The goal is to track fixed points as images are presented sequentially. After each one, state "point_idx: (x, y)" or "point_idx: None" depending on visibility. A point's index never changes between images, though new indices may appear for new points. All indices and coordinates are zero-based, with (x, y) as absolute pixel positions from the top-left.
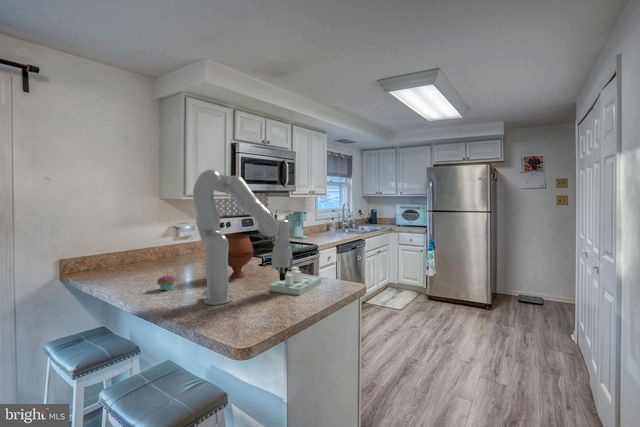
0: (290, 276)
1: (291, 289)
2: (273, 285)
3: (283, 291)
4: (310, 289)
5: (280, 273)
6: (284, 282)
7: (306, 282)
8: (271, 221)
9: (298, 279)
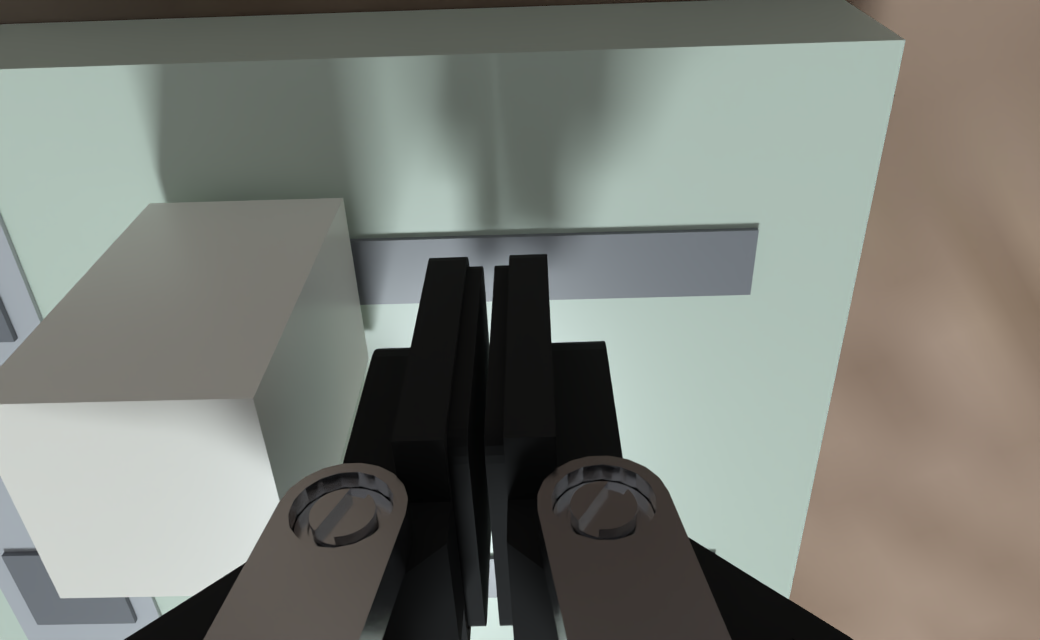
0: (7, 407)
1: (17, 57)
2: (722, 44)
3: (339, 20)
4: None
5: (508, 423)
6: None
7: None
8: None
9: None
